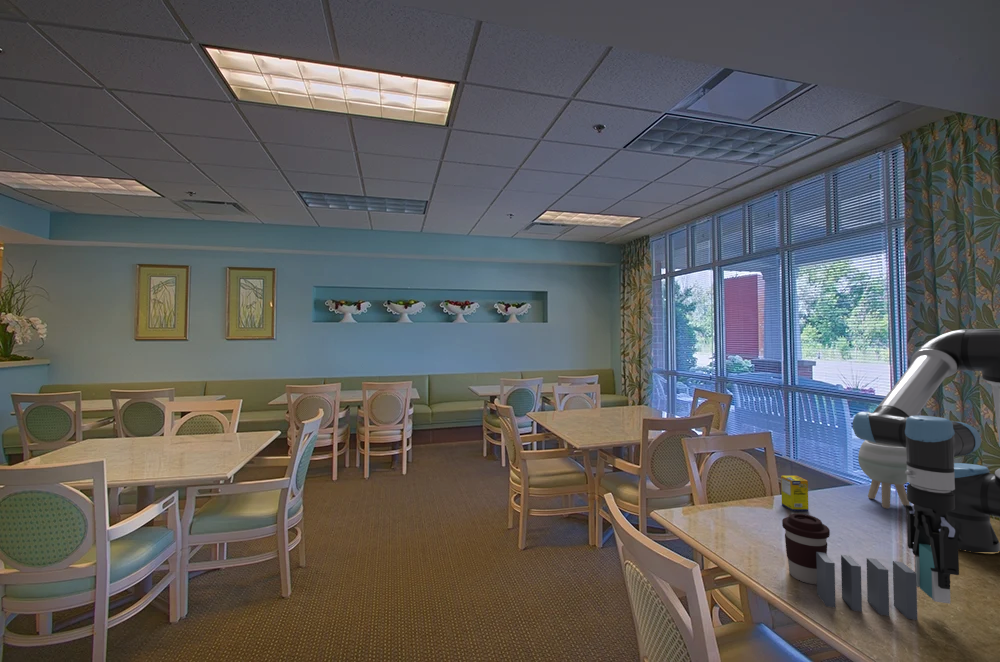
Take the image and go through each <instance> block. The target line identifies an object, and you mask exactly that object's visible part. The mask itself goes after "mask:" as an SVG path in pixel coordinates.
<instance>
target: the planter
mask: <svg viewBox="0 0 1000 662" xmlns="http://www.w3.org/2000/svg"><path fill="white" fill-rule="evenodd" d="M857 456H858V457H857V458H858V465H859V468H860V469H861V471H862V472H863V473H864V474H865V475H866V476H867V477H868V478H869V480H871V482H870V486H869V491H868V494H867V498H868V499H872V500H875V499H876V497H877V494H878V491H879V489H880V487H881V489H880V490H881V506H882V508H883V509H887V510H889V509H890V508H891V496H892V495H891V491H892V490H891V489H892V485H894V487H895V489H896V492H897V495H898V498H899V499H900V502H901V504H902V505H903V506H904V507H905V506H906V505H910V502H909V501H908V500H907V490H906V488H905V484H907V483H908V482H907V474H906V473H905V471H907V464H906V461H907V457H906V448H905V447H899V446H893V445H887V444H881V443H874V442H871V441H867V440H863V442H862V443H861V445H860V447H859V450H858V455H857Z"/></svg>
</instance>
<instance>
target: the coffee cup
mask: <svg viewBox="0 0 1000 662" xmlns="http://www.w3.org/2000/svg"><path fill="white" fill-rule="evenodd" d="M781 523H782V524H781V525H782V528H783V529H784V530H785V531H784V532H785V533H784V540H785V551H786V557H787V561H788V571H789V574H790V576H792V578H794V579H795V580H798V581H799V580H800V582H802V583H805V584H810V585H817V562H816V552H823V553H826V554H827V555H828V542H827V541H828V540H827V539H828V538H830V535H831V534H830V533H831V532H830V531H831V530H830V528H829V526H828V525H825V524H824V523H823V522H822V520H821V519H820V518H818V517H816V516H813V515H809V514H806V513H797V512H796V513H795V512H794V513H791V514H790V513H789V515H788V516H787V517H784V518H783V519H782V520H781Z"/></svg>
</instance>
